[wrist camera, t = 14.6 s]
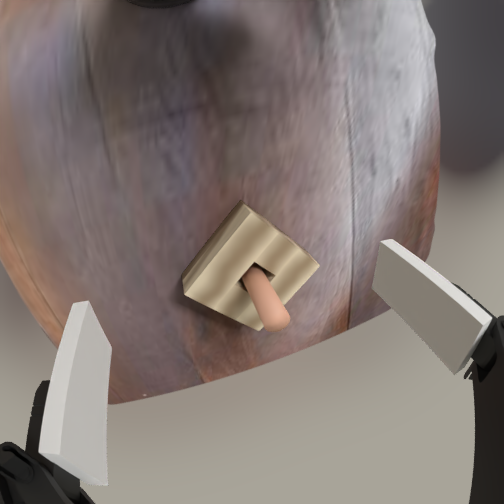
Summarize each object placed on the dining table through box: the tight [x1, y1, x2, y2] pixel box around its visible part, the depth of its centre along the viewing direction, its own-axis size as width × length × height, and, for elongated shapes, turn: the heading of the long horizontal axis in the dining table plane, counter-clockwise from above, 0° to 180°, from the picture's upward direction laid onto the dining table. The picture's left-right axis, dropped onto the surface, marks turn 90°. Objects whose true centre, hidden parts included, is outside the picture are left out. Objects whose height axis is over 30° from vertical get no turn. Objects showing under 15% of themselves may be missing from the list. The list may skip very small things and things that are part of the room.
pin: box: [241, 262, 290, 332], centre depth 42 cm, size 4×4×14 cm
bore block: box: [182, 200, 320, 331], centre depth 47 cm, size 16×16×6 cm
